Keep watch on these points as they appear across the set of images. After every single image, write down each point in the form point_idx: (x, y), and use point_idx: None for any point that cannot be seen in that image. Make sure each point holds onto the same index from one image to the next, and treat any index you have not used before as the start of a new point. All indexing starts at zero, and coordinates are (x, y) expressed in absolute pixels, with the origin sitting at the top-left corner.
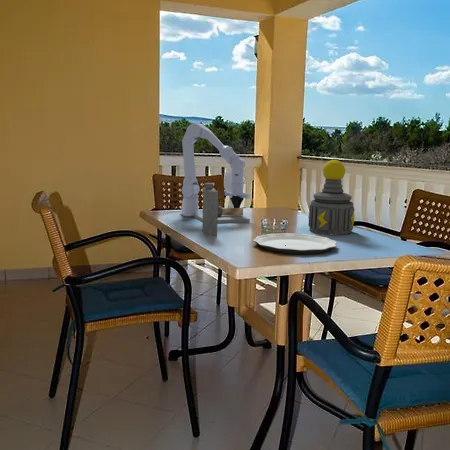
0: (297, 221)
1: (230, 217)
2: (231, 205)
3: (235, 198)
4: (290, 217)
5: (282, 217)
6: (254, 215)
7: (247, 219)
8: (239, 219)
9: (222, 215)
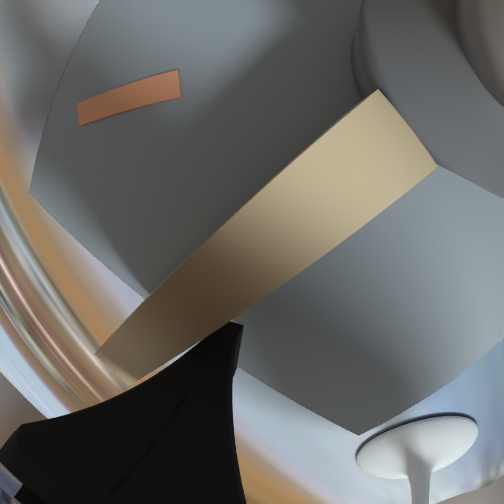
0: (23, 359)
1: (166, 83)
2: (417, 500)
3: (8, 456)
4: None
5: None
6: (244, 454)
7: (36, 172)
8: (57, 95)
9: None
